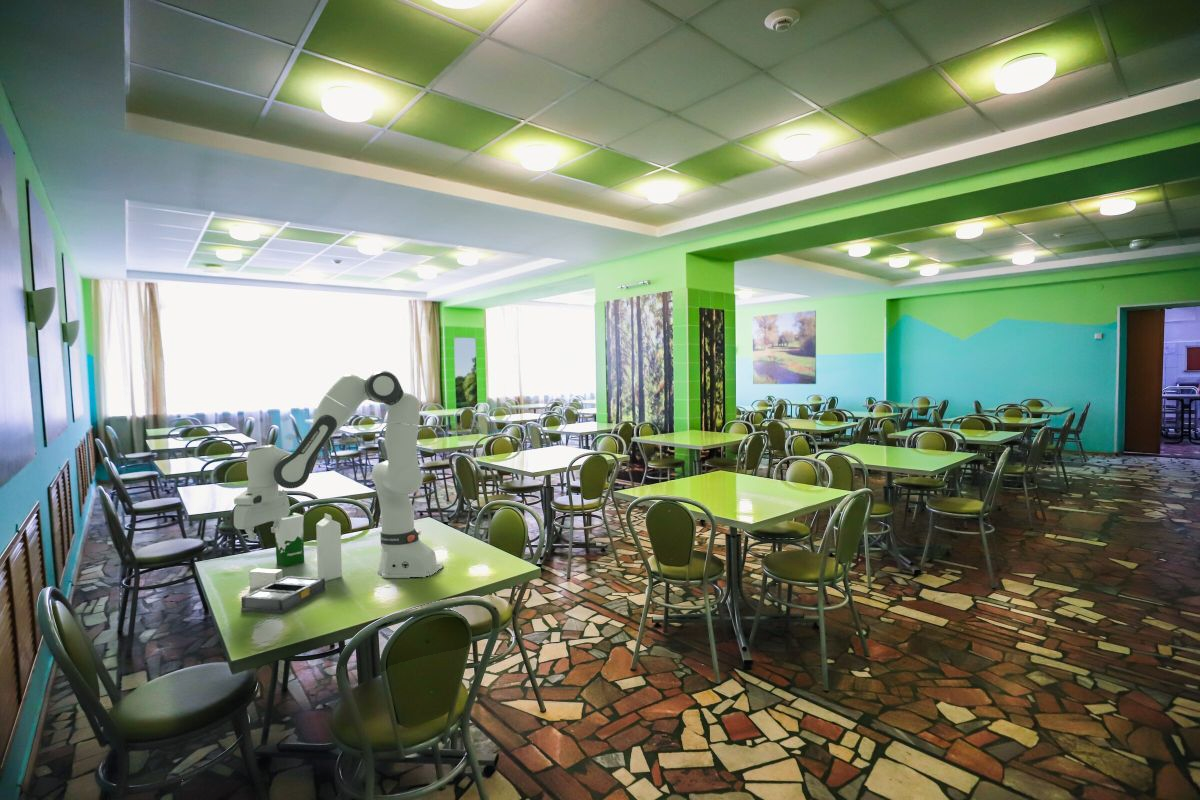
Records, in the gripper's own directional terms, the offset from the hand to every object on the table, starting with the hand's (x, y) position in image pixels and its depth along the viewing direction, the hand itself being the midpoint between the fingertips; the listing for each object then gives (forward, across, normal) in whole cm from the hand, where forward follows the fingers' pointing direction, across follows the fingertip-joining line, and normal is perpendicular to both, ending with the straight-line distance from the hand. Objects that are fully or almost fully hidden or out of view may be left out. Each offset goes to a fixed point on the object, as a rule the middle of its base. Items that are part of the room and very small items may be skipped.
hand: (264, 536), depth 187 cm
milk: (+18, -13, +14) cm, 26 cm away
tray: (+17, +8, +14) cm, 24 cm away
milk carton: (+18, -24, -11) cm, 32 cm away
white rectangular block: (+18, 0, 0) cm, 18 cm away
